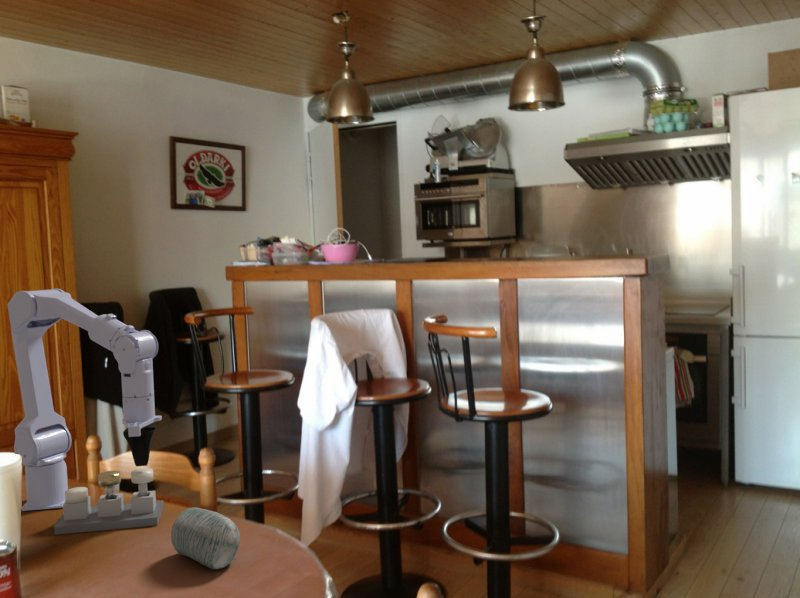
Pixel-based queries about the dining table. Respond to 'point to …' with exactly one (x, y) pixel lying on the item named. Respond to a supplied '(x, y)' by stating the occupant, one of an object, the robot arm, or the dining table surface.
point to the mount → (110, 514)
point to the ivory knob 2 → (142, 479)
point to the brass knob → (109, 482)
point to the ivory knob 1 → (76, 495)
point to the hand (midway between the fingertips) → (141, 465)
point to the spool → (205, 537)
